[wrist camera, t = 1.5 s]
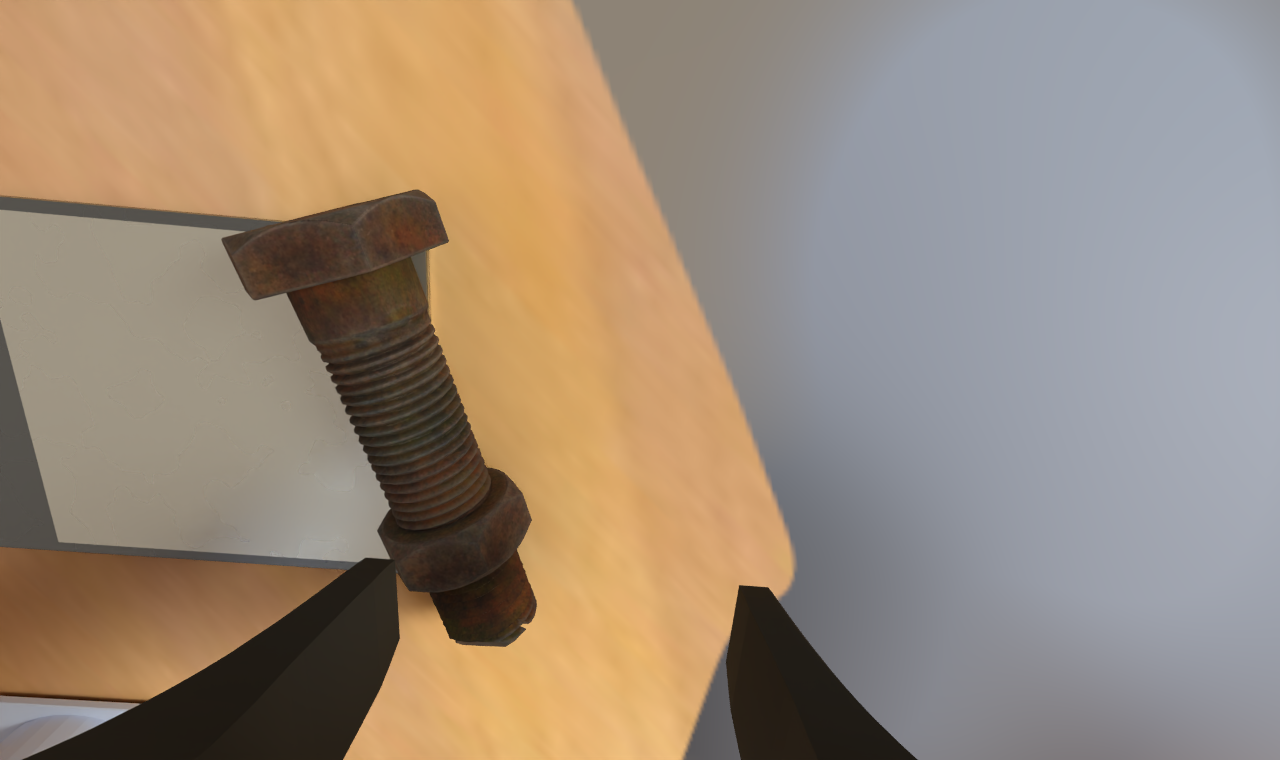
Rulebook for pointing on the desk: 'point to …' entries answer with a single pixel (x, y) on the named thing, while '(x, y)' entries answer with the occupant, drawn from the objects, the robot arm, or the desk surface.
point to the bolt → (402, 403)
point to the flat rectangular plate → (167, 398)
